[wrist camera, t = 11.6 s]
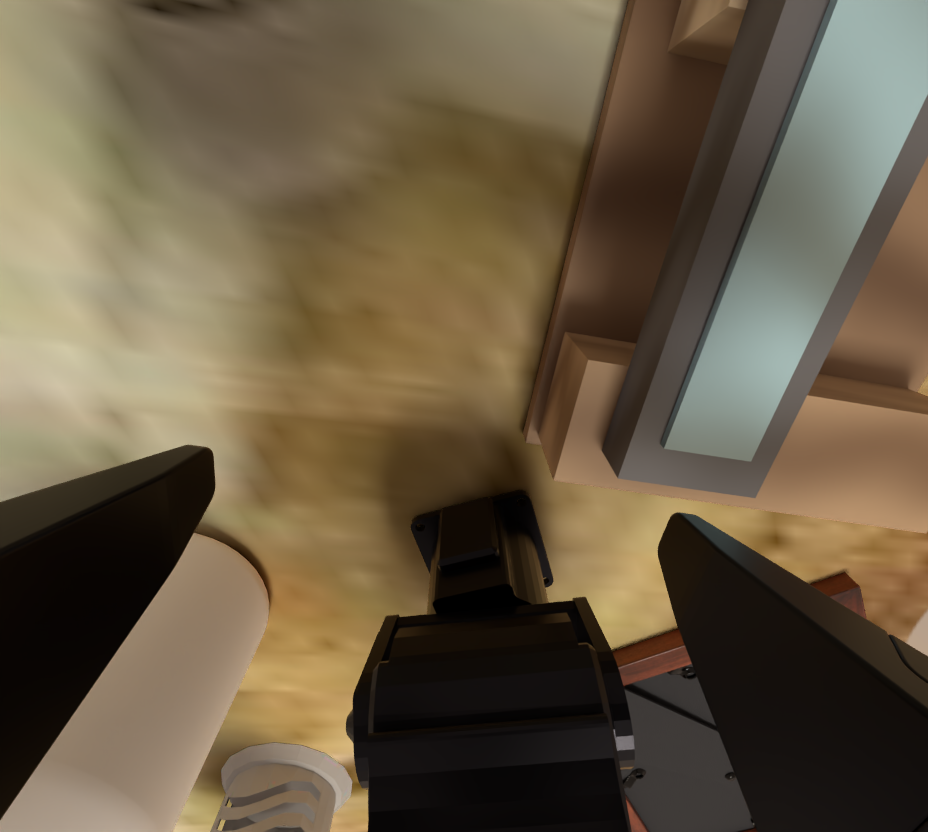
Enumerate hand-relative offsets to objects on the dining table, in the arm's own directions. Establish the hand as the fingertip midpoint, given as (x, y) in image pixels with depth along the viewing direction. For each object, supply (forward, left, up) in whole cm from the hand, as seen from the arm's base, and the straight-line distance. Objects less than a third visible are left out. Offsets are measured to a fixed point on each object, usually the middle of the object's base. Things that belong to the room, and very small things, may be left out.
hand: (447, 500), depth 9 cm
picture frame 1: (+1, -10, -8) cm, 13 cm away
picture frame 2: (-34, -10, -14) cm, 38 cm away
